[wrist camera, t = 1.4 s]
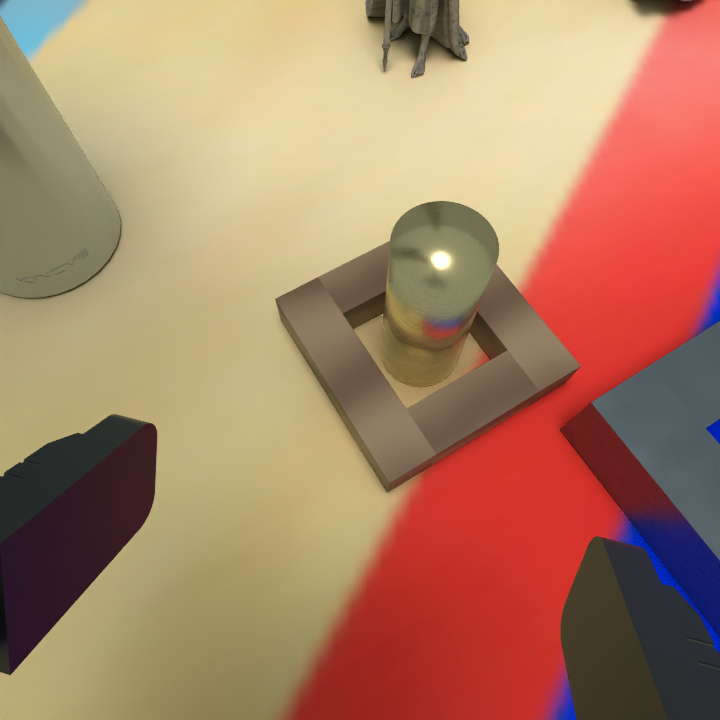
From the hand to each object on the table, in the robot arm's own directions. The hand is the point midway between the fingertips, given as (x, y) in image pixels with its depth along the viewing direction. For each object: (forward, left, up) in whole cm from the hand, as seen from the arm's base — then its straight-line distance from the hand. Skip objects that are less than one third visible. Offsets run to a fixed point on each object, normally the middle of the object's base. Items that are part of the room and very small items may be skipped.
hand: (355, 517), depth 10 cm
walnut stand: (-9, +9, -19) cm, 23 cm away
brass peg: (-9, +9, -19) cm, 23 cm away
